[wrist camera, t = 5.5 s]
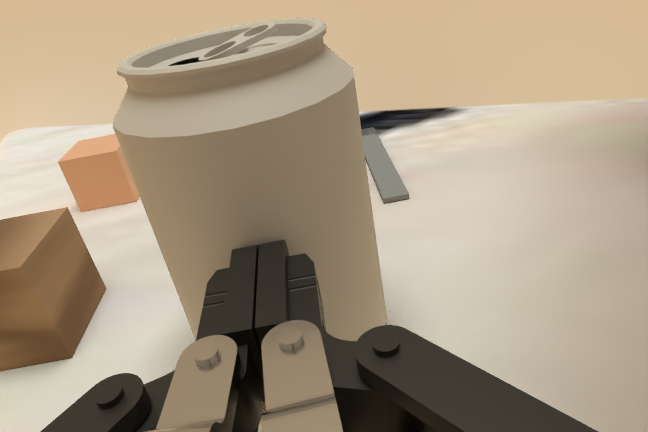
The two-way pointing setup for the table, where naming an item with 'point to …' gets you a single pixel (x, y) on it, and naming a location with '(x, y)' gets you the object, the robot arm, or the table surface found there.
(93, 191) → the clay block
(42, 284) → the walnut block
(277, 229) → the can
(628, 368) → the table surface
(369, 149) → the frame
